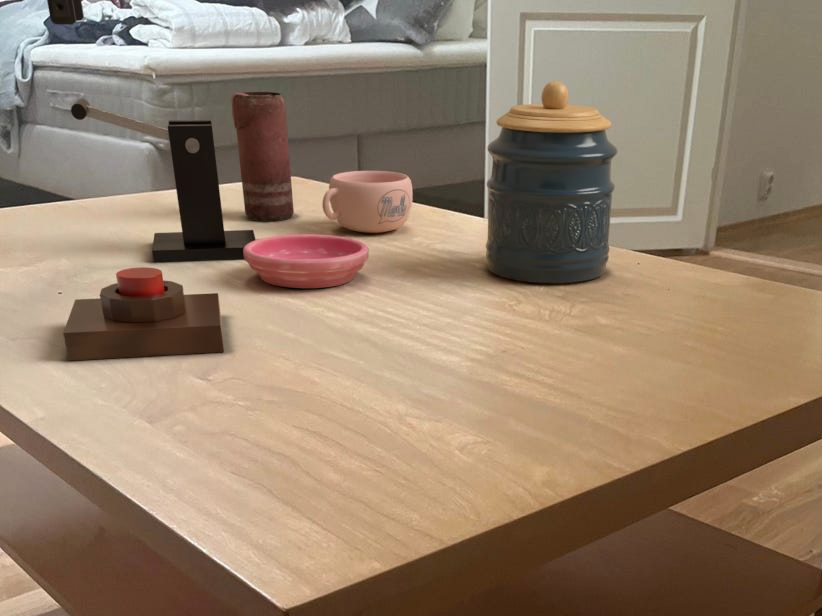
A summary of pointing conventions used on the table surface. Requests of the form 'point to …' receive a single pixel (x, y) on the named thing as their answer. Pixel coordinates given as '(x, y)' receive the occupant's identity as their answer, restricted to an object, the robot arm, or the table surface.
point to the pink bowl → (306, 260)
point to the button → (140, 282)
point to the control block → (144, 324)
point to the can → (263, 155)
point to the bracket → (197, 201)
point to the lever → (117, 119)
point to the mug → (369, 200)
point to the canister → (550, 192)
